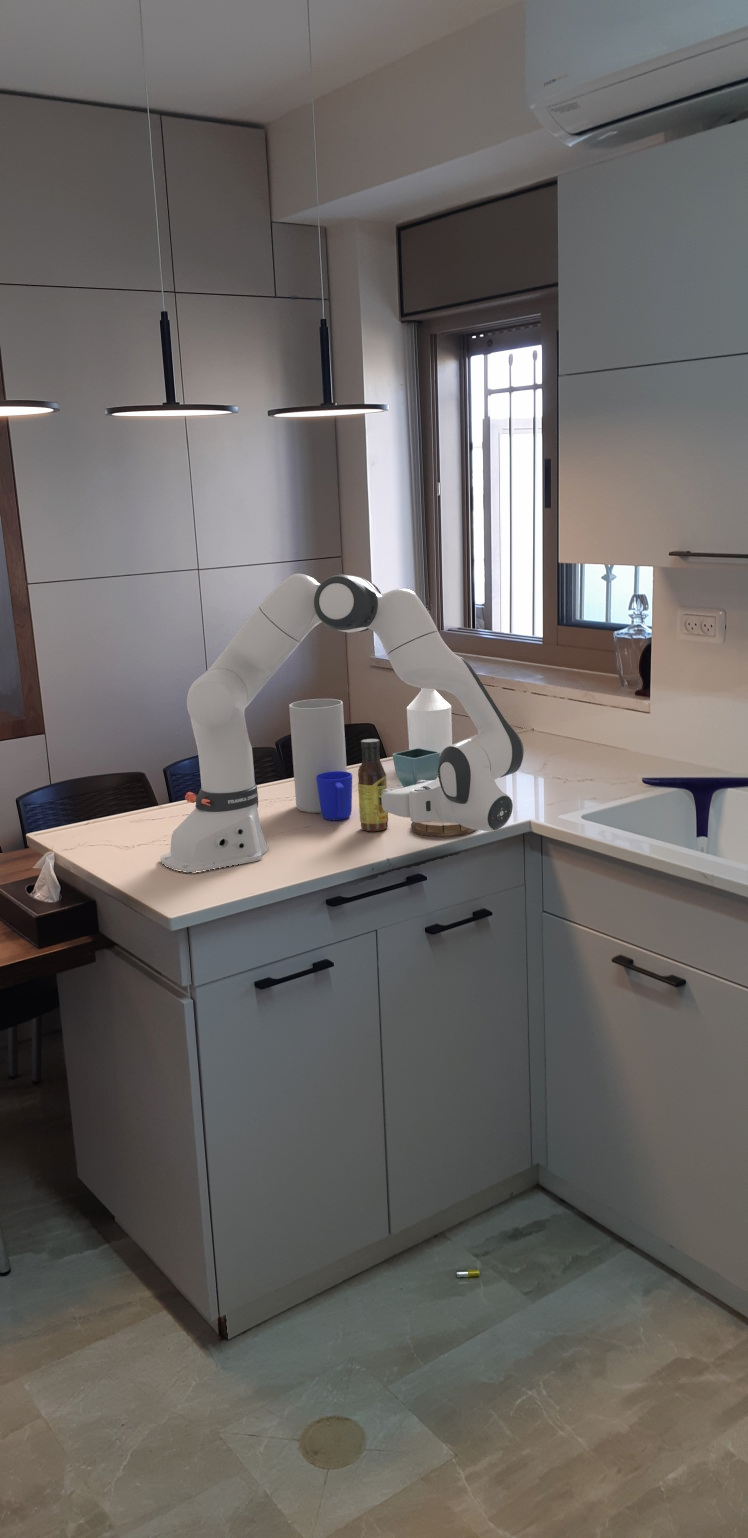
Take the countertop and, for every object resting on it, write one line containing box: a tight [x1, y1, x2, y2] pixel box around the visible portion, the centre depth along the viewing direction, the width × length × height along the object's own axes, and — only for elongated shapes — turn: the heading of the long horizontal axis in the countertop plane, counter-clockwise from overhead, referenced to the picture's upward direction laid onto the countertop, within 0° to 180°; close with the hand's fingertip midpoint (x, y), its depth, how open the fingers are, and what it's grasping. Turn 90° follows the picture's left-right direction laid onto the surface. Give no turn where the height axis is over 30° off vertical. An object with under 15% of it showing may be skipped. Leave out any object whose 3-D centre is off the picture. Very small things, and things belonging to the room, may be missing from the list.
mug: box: [316, 771, 353, 821], centre depth 263 cm, size 8×12×10 cm
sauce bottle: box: [357, 738, 389, 832], centre depth 254 cm, size 6×6×20 cm
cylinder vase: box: [288, 698, 348, 814], centre depth 273 cm, size 12×12×25 cm
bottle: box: [406, 688, 453, 755], centre depth 309 cm, size 12×12×25 cm
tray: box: [410, 821, 476, 838], centre depth 254 cm, size 15×15×2 cm
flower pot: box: [391, 748, 440, 787], centre depth 288 cm, size 9×9×9 cm
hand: (402, 788), depth 245 cm, fingers open, 8 cm apart
